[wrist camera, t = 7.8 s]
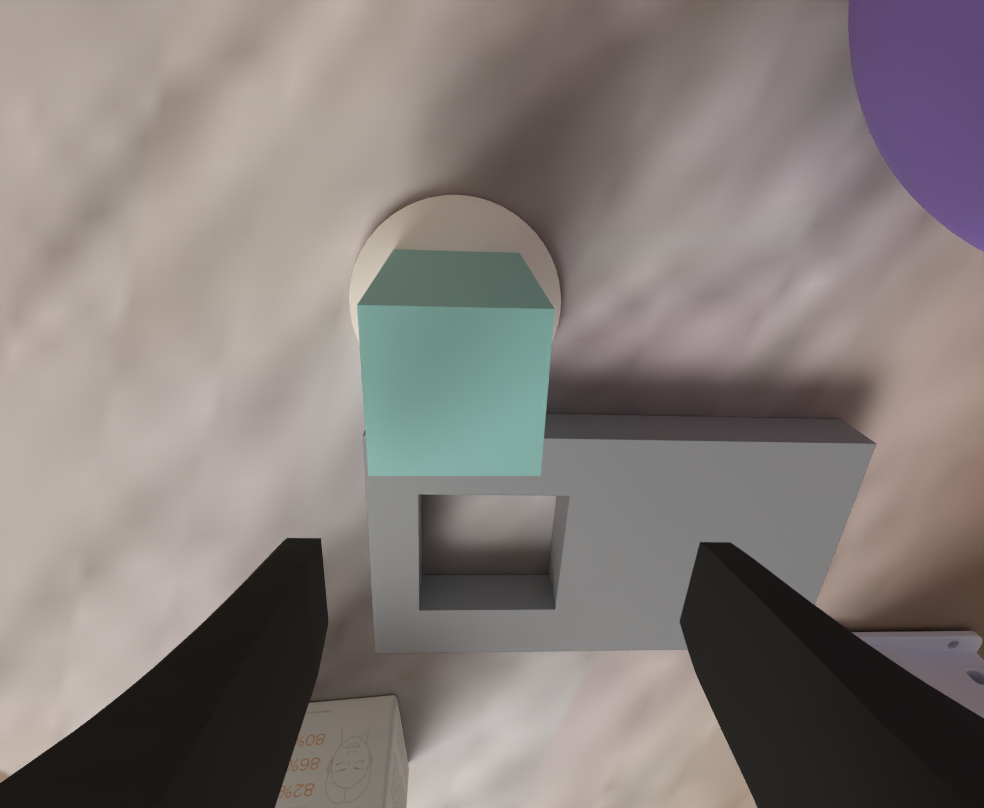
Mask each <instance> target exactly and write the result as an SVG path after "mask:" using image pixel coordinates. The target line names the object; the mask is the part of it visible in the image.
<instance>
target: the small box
mask: <svg viewBox="0 0 984 808" xmlns="http://www.w3.org/2000/svg"><path fill="white" fill-rule="evenodd" d="M408 773H409V766H408V759H407V753H406V747H405V741H404V735H403V729H402V724H401V718H400V712H399V707H398V702H397V697H396V696H395V695H389V696H379V697H367V698H356V699H344V700H334V701H323V702H312V703H309V704H308V707H307V711H306V714H305V717H304V720H303V723H302V726H301V729H300V732H299V735H298V738H297V741H296V744H295V748H294V751H293V754H292V757H291V760H290V763H289V766H288V769H287V772H286V775H285V778H284V781H283V784H282V787H281V790H280V793H279V797H278V800H277V803H276V806H275V808H406V804H407V788H408Z"/></svg>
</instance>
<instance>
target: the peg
mask: <svg viewBox="0 0 984 808" xmlns="http://www.w3.org/2000/svg"><path fill="white" fill-rule="evenodd" d="M357 312H358V327H359V342H360V357H361V372H362V387H363V402H364V417H365V432H366V447H367V462H368V476H541V466H542V454H543V442H544V431H545V419H546V407H547V395H548V383H549V371H550V360H551V348H552V336H553V324H554V312H555V309H554V307H553V305H552V304H551V302H550V301H549V299H548V297H547V296H546V294H545V293H544V291H543V289H542V288H541V286H540V285H539V283H538V282H537V280H536V278H535V277H534V275H533V274H532V272H531V270H530V269H529V267H528V266H527V264H526V262H525V261H524V259H523V258H522V256H521V254H520V253H509V252H472V251H436V250H399V249H393V251H392V252H391V254H390V255H389V257H388V259H387V260H386V262H385V263H384V265H383V266H382V268H381V269H380V271H379V272H378V274H377V275H376V277H375V278H374V280H373V281H372V283H371V284H370V286H369V287H368V289H367V291H366V292H365V294H364V295H363V297H362V298H361V300H360V301H359V303H358V304H357Z"/></svg>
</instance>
